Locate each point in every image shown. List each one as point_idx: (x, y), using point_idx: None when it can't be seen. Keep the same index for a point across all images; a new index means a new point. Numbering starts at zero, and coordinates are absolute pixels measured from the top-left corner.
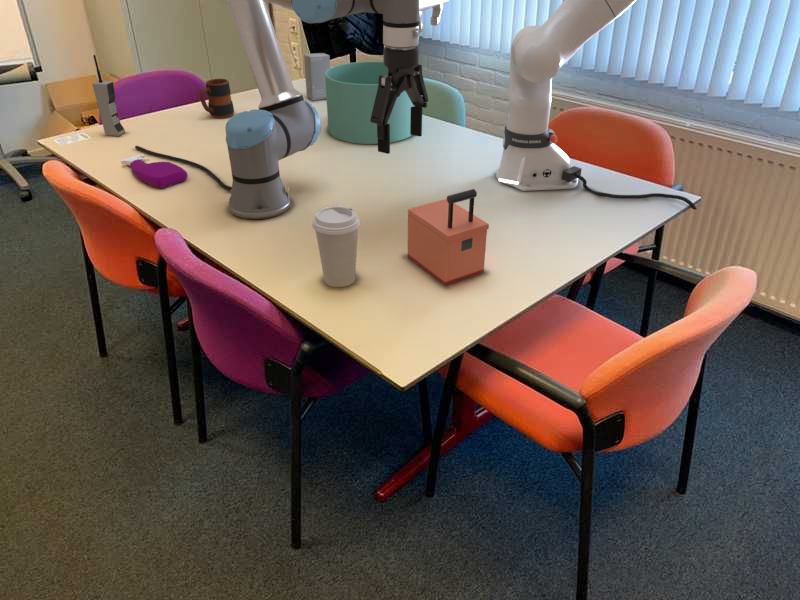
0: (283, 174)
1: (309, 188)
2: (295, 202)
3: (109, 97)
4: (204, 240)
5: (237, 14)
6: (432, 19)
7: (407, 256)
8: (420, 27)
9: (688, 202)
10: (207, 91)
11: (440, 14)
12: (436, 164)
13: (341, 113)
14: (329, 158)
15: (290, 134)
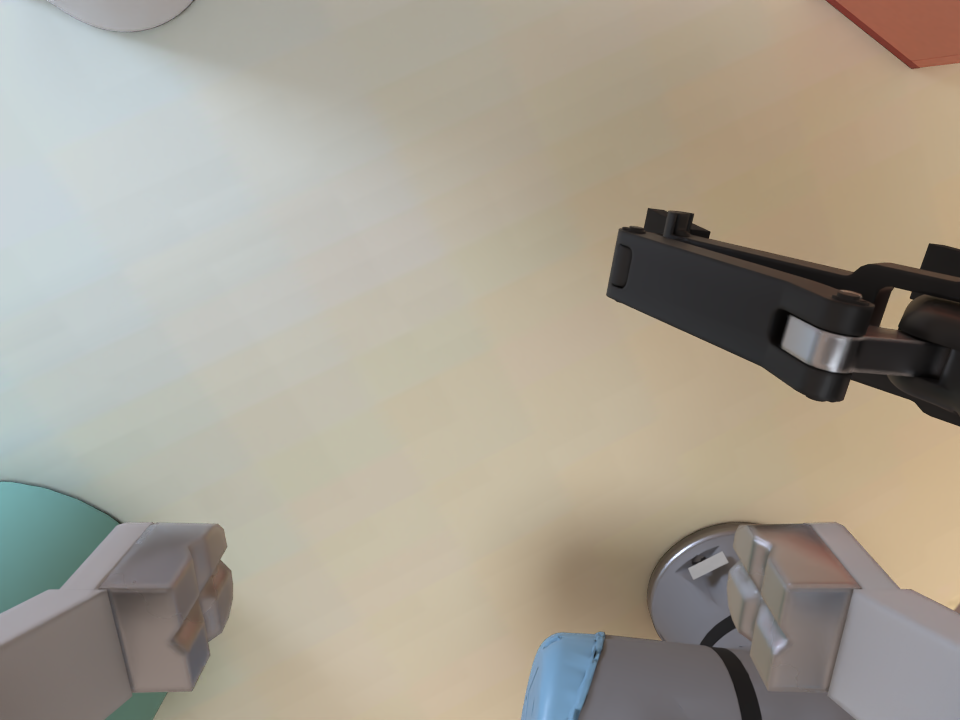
0: (506, 648)
1: (564, 545)
2: (666, 530)
3: None
4: (941, 595)
5: None
6: (199, 638)
7: (912, 68)
8: (873, 561)
9: None
10: None
11: (30, 609)
12: (184, 291)
13: (143, 717)
14: (334, 605)
15: (730, 692)
